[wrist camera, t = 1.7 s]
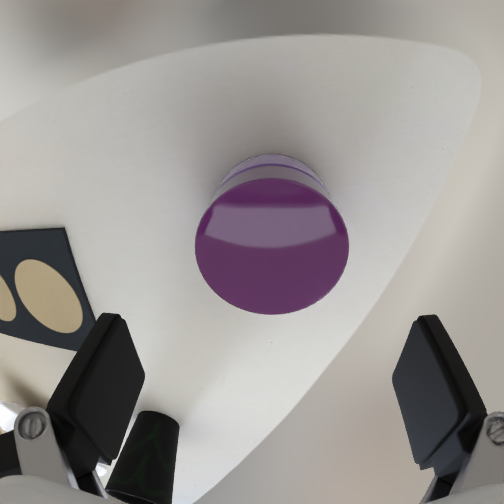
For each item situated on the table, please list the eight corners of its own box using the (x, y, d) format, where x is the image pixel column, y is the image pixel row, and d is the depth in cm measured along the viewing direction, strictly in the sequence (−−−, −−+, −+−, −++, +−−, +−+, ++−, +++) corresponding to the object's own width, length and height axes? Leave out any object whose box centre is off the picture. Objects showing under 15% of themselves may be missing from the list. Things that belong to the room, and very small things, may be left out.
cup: (160, 402, 31) (135, 493, 21) (199, 432, 34) (184, 514, 24) (119, 409, 33) (92, 486, 23) (157, 437, 36) (138, 508, 26)
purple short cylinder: (201, 164, 15) (186, 180, 13) (342, 164, 15) (357, 180, 12) (212, 282, 19) (203, 313, 16) (330, 282, 18) (339, 314, 16)
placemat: (-47, 234, 22) (-50, 236, 22) (64, 227, 21) (61, 230, 20) (-6, 329, 29) (-7, 331, 28) (110, 354, 28) (108, 357, 27)
